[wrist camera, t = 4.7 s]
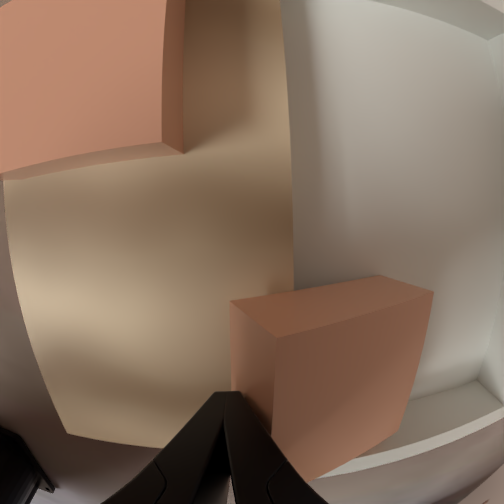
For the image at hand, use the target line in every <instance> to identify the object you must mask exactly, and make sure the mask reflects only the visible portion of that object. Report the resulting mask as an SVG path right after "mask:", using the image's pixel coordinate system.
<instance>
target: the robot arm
mask: <svg viewBox="0 0 504 504" xmlns="http://www.w3.org/2000/svg"><path fill="white" fill-rule="evenodd" d="M230 475H231V480H232V486H233V492H234V497H235V503H236V504H329V503H327V502H326V501H325V500H324V499H323V498H322V497H321V496H320V495H318V494H317V493H316V492H315V491H314V490H313V489H312V488H311V487H310V486H309V485H308V484H307V483H306V482H305V481H304V479H303V478H302V477H301V476H300V475H299V473H298V472H297V471H296V470H295V468H294V467H293V466H292V464H291V463H290V462H289V461H288V459H287V458H286V457H285V455H284V454H283V453H282V451H281V450H280V448H279V447H278V446H277V444H276V443H275V441H274V440H273V439H272V437H271V436H270V434H269V433H268V432H267V430H266V429H265V427H264V426H263V424H262V423H261V422H260V420H259V419H258V417H257V416H256V414H255V413H254V411H253V410H252V408H251V407H250V405H249V404H248V402H247V401H246V399H245V398H244V396H243V395H242V393H241V392H240V391H215V392H214V393H213V394H212V395H211V396H210V397H209V398H208V399H207V401H206V402H205V403H204V404H203V405H202V406H201V407H200V409H199V410H198V411H197V412H196V413H195V414H194V415H193V416H192V418H191V419H190V420H189V421H188V422H187V423H186V424H185V425H184V426H183V428H182V429H181V430H180V431H179V432H178V433H177V434H176V435H175V436H174V437H173V439H172V440H171V441H170V442H169V443H168V444H167V445H166V446H165V447H164V448H163V449H162V450H161V451H160V452H159V454H158V455H157V456H156V457H155V458H154V459H153V461H151V462H150V463H149V464H148V465H147V466H146V467H145V468H144V469H143V470H142V471H141V472H140V473H139V474H138V475H137V476H136V477H135V478H133V479H132V480H131V481H130V482H129V483H128V484H126V485H125V486H124V487H123V488H121V489H120V490H119V491H118V492H116V493H115V494H113V495H112V496H111V497H109V498H108V499H107V500H105V501H104V502H102V503H101V504H227V497H228V490H229V483H230ZM38 488H39V489H42V490H44V491H47V492H50V493H54V491H55V488H54V487H53V485H52V484H51V483H50V481H49V480H48V478H47V477H46V476H45V474H44V473H43V471H42V470H41V469H40V467H39V466H38V464H37V463H36V461H35V460H34V458H33V457H32V455H31V453H30V452H29V450H28V449H27V447H26V445H25V444H24V442H23V440H22V439H21V438H20V437H19V436H18V435H17V434H15V433H12V432H9V431H7V430H4V429H2V428H0V504H30V502H31V500H32V499H33V497H34V495H35V493H36V491H37V489H38Z"/></svg>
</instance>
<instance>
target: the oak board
mask: <svg viewBox="0 0 504 504" xmlns="http://www.w3.org/2000/svg"><path fill="white" fill-rule="evenodd" d="M183 144H184V154H182V155H171V156H161V157H152V158H143V159H135V160H127V161H120V162H113V163H106V164H100V165H94V166H87V167H82V168H76V169H70V170H65V171H60V172H55V173H50V174H45V175H40V176H36V177H31V178H27V179H23V180H3V185H4V204H5V217H6V227H7V236H8V244H9V251H10V257H11V263H12V269H13V274H14V280H15V284H16V289H17V294H18V298H19V302H20V307H21V311H22V314H23V318H24V322H25V326H26V329H27V332H28V336H29V339H30V342H31V346H32V349H33V352H34V355H35V358H36V361H37V363H38V366H39V369H40V372H41V374H42V377H43V380H44V382H45V385H46V387H47V390H48V392H49V395H50V397H51V399H52V402H53V404H54V406H55V408H56V411H57V413H58V415H59V417H60V419H61V421H62V423H63V426H64V428H65V430H66V432H67V433H68V434H73V435H77V436H82V437H86V438H91V439H97V440H102V441H108V442H114V443H121V444H128V445H135V446H144V447H153V448H164V447H165V446H166V445H167V444H168V443H169V442H170V441H171V440H172V439H173V437H174V436H175V435H176V434H177V433H178V432H179V431H180V430H181V429H182V428H183V426H184V425H185V424H186V423H187V422H188V421H189V420H190V419H191V418H192V416H193V415H194V414H195V413H196V412H197V411H198V410H199V409H200V407H201V406H202V405H203V404H204V403H205V402H206V401H207V399H208V398H209V397H210V396H211V395H212V394H213V393H214V392H215V391H232V390H231V356H230V311H229V301H231V300H238V299H245V298H251V297H258V296H264V295H271V294H277V293H283V292H289V291H294V261H293V203H292V172H291V147H290V127H289V109H288V93H287V78H286V64H285V51H284V39H283V28H282V17H281V7H280V0H186V3H185V22H184V49H183Z"/></svg>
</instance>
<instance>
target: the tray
mask: <svg viewBox="0 0 504 504" xmlns="http://www.w3.org/2000/svg"><path fill="white" fill-rule="evenodd" d="M280 7H281V17H282V28H283V39H284V51H285V64H286V78H287V93H288V109H289V127H290V147H291V172H292V203H293V261H294V291H295V290H301V289H307V288H313V287H318V286H324V285H330V284H335V283H341V282H346V281H351V280H357V279H362V278H367V277H372V276H377V275H382V276H385V277H388V278H392V279H395V280H398V281H401V282H405V283H408V284H411V285H415V286H418V287H421V288H424V289H428V290H431V291H434V295H433V301H432V307H431V312H430V317H429V322H428V327H427V332H426V337H425V341H424V346H423V350H422V354H421V358H420V362H419V366H418V369H417V373H416V377H415V380H414V384H413V387H412V390H411V394H410V397H409V400H408V403H407V406H406V409H405V412H404V415H403V418H402V421H401V424H400V426H399V429H398V431H397V432H396V433H394V434H393V435H391V436H390V437H388V438H387V439H385V440H384V441H382V442H380V443H379V444H377V445H376V446H374V447H372V448H371V449H369V450H368V451H366V452H364V453H362V454H361V455H359V456H357V457H356V458H354V459H352V460H350V461H349V462H347V463H345V464H343V465H341V466H339V467H337V468H336V469H334V470H332V471H330V472H328V473H326V474H324V475H322V476H320V477H318V478H323V477H329V476H335V475H340V474H345V473H350V472H355V471H360V470H364V469H368V468H372V467H376V466H380V465H384V464H388V463H391V462H395V461H398V460H402V459H405V458H408V457H411V456H414V455H417V454H420V453H423V452H426V451H429V450H432V449H434V448H437V447H440V446H442V445H445V444H448V443H450V442H453V441H455V440H457V439H460V438H462V437H464V436H467V435H469V434H471V433H473V432H475V431H478V430H480V429H482V428H484V427H486V426H488V425H490V424H492V423H494V422H496V421H498V420H500V419H502V418H504V0H280ZM316 479H317V478H316Z"/></svg>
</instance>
